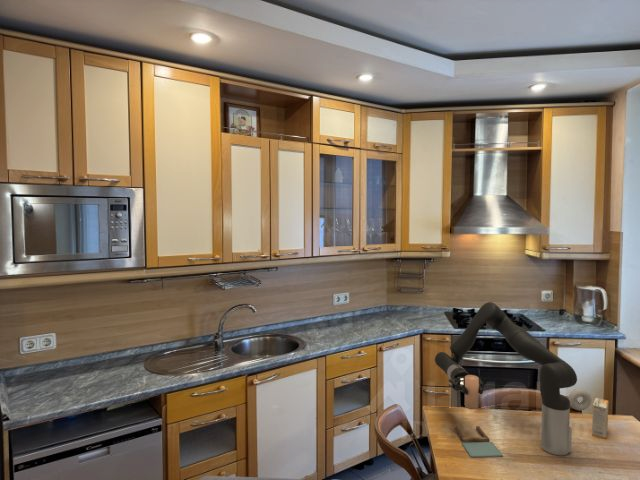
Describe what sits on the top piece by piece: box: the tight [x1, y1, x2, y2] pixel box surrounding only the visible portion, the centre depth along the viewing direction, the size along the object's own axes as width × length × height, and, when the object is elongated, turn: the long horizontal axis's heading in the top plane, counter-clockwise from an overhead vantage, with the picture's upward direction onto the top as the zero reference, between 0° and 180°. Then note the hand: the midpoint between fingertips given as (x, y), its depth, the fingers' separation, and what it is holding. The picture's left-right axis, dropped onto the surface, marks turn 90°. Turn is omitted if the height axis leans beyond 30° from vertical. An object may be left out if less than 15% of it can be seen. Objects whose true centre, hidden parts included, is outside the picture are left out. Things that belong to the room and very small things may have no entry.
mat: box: [461, 441, 504, 459], centre depth 159 cm, size 12×9×1 cm
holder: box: [453, 425, 490, 443], centre depth 170 cm, size 10×10×2 cm
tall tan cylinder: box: [464, 374, 480, 410], centre depth 169 cm, size 5×5×12 cm
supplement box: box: [591, 397, 609, 440], centre depth 171 cm, size 8×5×13 cm, turn 141°
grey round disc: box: [567, 388, 592, 412], centre depth 191 cm, size 10×4×10 cm, turn 89°
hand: (474, 392), depth 166 cm, fingers closed on tall tan cylinder, 5 cm apart
